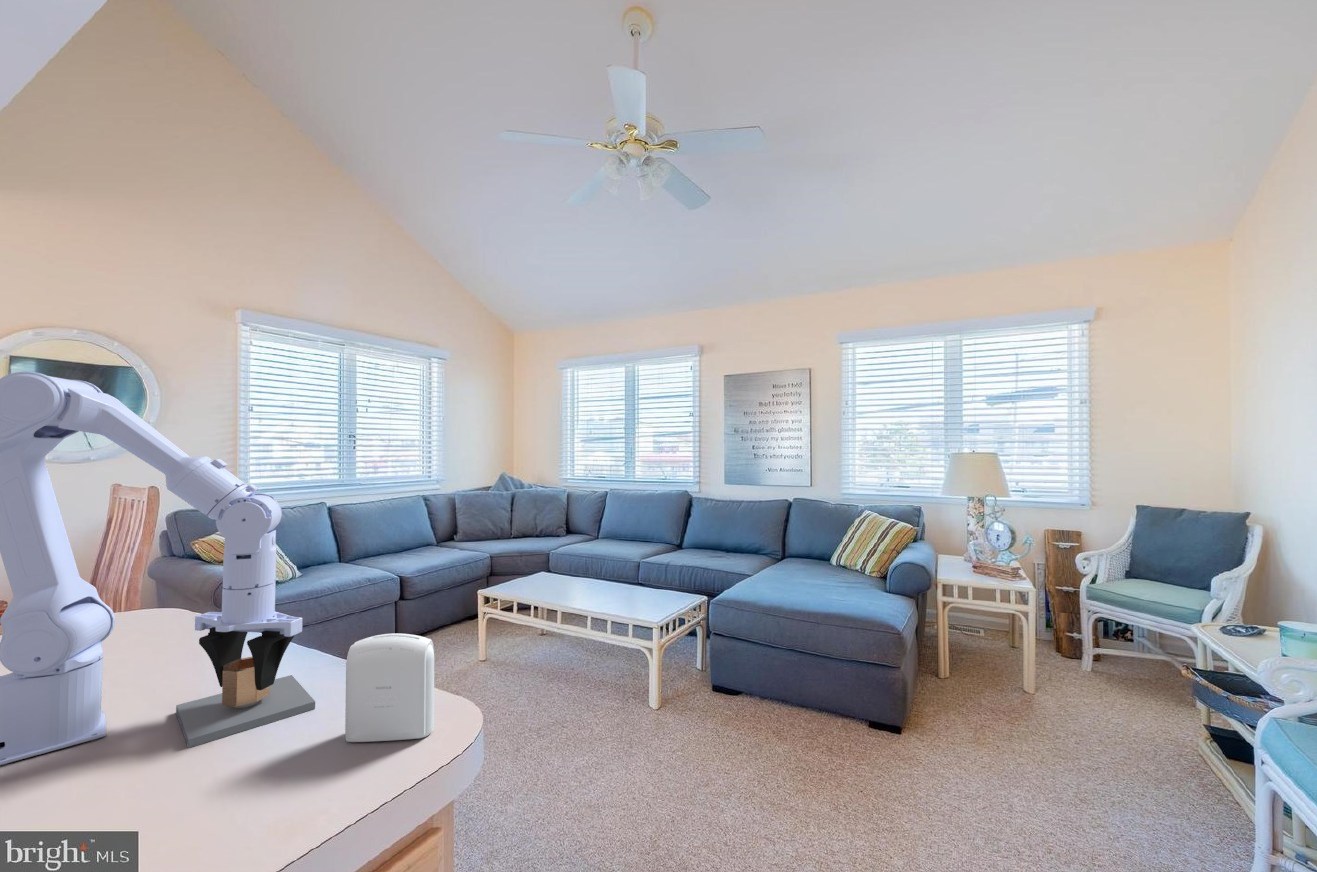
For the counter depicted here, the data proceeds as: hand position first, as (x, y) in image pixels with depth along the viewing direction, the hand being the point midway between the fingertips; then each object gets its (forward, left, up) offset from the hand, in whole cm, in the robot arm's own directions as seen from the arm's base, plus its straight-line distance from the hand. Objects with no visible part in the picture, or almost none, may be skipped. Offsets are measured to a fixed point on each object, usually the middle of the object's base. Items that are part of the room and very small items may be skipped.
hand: (246, 685), depth 71 cm
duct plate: (0, 0, -3) cm, 3 cm away
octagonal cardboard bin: (0, 0, -2) cm, 2 cm away
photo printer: (+11, -20, -4) cm, 23 cm away
